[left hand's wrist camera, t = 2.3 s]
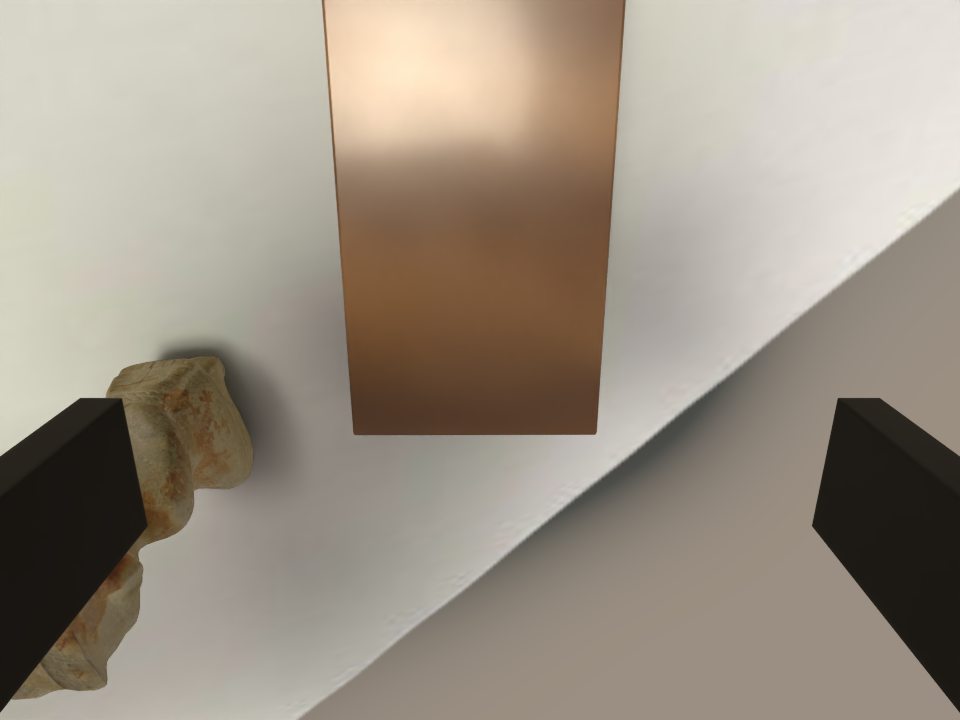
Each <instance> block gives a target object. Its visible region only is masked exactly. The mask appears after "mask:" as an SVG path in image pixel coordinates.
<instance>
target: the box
mask: <svg viewBox="0 0 960 720" xmlns="http://www.w3.org/2000/svg"><path fill="white" fill-rule="evenodd" d="M625 3H626V0H322V8H323V22H324V35H325V49H326V63H327V76H328V90H329V104H330V118H331V131H332V145H333V159H334V173H335V186H336V200H337V214H338V228H339V241H340V255H341V269H342V283H343V296H344V310H345V324H346V338H347V351H348V365H349V379H350V392H351V406H352V420H353V433H354V435H595V434H596V432H597V419H598V404H599V389H600V374H601V359H602V344H603V330H604V315H605V300H606V285H607V270H608V255H609V240H610V226H611V211H612V196H613V181H614V166H615V151H616V137H617V122H618V107H619V92H620V77H621V62H622V48H623V33H624V18H625Z"/></svg>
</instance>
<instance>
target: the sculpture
mask: <svg viewBox="0 0 960 720" xmlns="http://www.w3.org/2000/svg"><path fill="white" fill-rule="evenodd" d="M225 374H226V371H225V368H224V366H223V364H222V362H221V361H220V360H219V359H218V358H216V357H212V356H201V357H192V358H190V359H171V360H161V361H152V362H146V363H141V364H136V365H133V366H129V367H127V368H124V369H123V370H122V371H121V372H120V374H119V375H118V376H117V377H116V378H114V379H113V381H112V383H111V385H110V387H109V389H108V391H107V393H106V398H122V400H123V405H124V410H125V415H126V420H127V425H128V430H129V435H130V440H131V445H132V450H133V455H134V460H135V464H136V469H137V474H138V479H139V484H140V489H141V494H142V499H143V504H144V509H145V514H146V519H147V524H148V527H147V528H146V529H145V530H144V532H143V533H142V534H141V535H140V537H139V538H138V539H137V540H136V542H135V543H134V544H133V546H132V547H131V548H130V549H129V551H128V552H127V553H126V554H125V556H124V557H123V558H122V559H121V561H120V562H119V563H118V564H117V566H116V567H115V568H114V570H113V571H112V572H111V573H110V575H109V576H108V577H107V578H106V580H105V581H104V582H103V583H102V585H101V586H100V587H99V588H98V590H97V591H96V592H95V594H94V595H93V596H92V597H91V599H90V600H89V601H88V602H87V604H86V605H85V606H84V607H83V609H82V610H81V611H80V612H79V614H78V615H77V616H76V618H75V619H74V620H73V621H72V623H71V624H70V625H69V626H68V628H67V629H66V630H65V631H64V633H63V634H62V635H61V636H60V638H59V639H58V640H57V641H56V643H55V644H54V645H53V647H52V648H51V649H50V650H49V652H48V653H47V654H46V655H45V657H44V658H43V659H42V660H41V662H40V663H39V664H38V665H37V667H36V668H35V669H34V671H33V672H32V673H31V674H30V676H29V677H28V678H27V679H26V681H25V682H24V683H23V684H22V686H21V687H20V688H19V689H18V691H17V692H16V693H15V695H14V696H13V697H12V698H11V699H13V700H16V699H27V698H38V697H41V696H43V695H45V694H48V693H50V692H53V691H56V690H61V689H69V690H76V691H89V690H97V689H100V688H102V687H105V686H106V684H107V669H106V665H107V660H108V659H109V657H110V656H111V655H112V654H113V653H114V651H115V650H116V649H117V647H118V646H119V644H120V642H121V641H122V639H123V637H124V636H125V634H126V633H127V632H128V631H129V630H130V629H131V628H132V626H133V625H134V624H135V622H136V621H137V618H138V614H139V609H140V587H141V584H142V574H143V566H142V564H141V563H140V562H139V557H138V552H139V550H140V549H141V548H142V547H144V546H145V545H147V544H150V543H152V542H155V541H158V540H161V539H165V538H168V537H170V536H172V535H174V534H176V533H177V532H179V531H180V530H181V529H182V528H183V527H184V526H185V525H186V524H187V522H188V520H189V519H190V517H191V515H192V511H193V507H194V490H197V489H199V488H211V489H230V488H233V487H236V486H238V485H240V484H241V483H242V482H243V481H244V480H245V479H246V478H247V477H248V476H249V474H250V473H251V470H252V466H253V447H252V443H251V439H250V436H249V434H248V431H247V428H246V426H245V424H244V422H243V420H242V418H241V415H240V413H239V411H238V409H237V408H236V406H235V404H234V402H233V401H232V399H231V397H230V395H229V393H228V391H227V388H226V385H225V381H224V377H225Z"/></svg>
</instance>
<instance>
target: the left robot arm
mask: <svg viewBox="0 0 960 720" xmlns="http://www.w3.org/2000/svg"><path fill="white" fill-rule="evenodd" d="M147 527H148V524H147V519H146V514H145V509H144V504H143V499H142V494H141V489H140V484H139V479H138V474H137V469H136V464H135V460H134V455H133V450H132V445H131V440H130V435H129V430H128V425H127V420H126V415H125V410H124V405H123V400H122V398H80V399H78V400H77V401H76V402H74V403H73V404H72V405H70V406H69V407H67V408H66V409H65V410H63V411H62V412H61V413H59V414H58V415H56V416H55V417H54V418H52V419H51V420H50V421H48V422H47V423H45V424H44V425H43V426H41V427H40V428H39V429H37V430H36V431H35V432H33V433H32V434H30V435H29V436H28V437H26V438H25V439H24V440H22V441H21V442H19V443H18V444H17V445H15V446H14V447H13V448H11V449H10V450H8V451H7V452H6V453H4V454H3V455H2V456H0V712H1V711H2V710H3V708H4V707H5V706H6V705H7V703H8V702H9V701H10V700H11V698H12V697H13V696H14V695H15V693H16V692H17V691H18V689H19V688H20V687H21V686H22V684H23V683H24V682H25V681H26V679H27V678H28V677H29V676H30V674H31V673H32V672H33V671H34V669H35V668H36V667H37V665H38V664H39V663H40V662H41V660H42V659H43V658H44V657H45V655H46V654H47V653H48V652H49V650H50V649H51V648H52V647H53V645H54V644H55V643H56V641H57V640H58V639H59V638H60V636H61V635H62V634H63V633H64V631H65V630H66V629H67V628H68V626H69V625H70V624H71V623H72V621H73V620H74V619H75V618H76V616H77V615H78V614H79V612H80V611H81V610H82V609H83V607H84V606H85V605H86V604H87V602H88V601H89V600H90V599H91V597H92V596H93V595H94V594H95V592H96V591H97V590H98V588H99V587H100V586H101V585H102V583H103V582H104V581H105V580H106V578H107V577H108V576H109V575H110V573H111V572H112V571H113V570H114V568H115V567H116V566H117V564H118V563H119V562H120V561H121V559H122V558H123V557H124V556H125V554H126V553H127V552H128V551H129V549H130V548H131V547H132V546H133V544H134V543H135V542H136V540H137V539H138V538H139V537H140V535H141V534H142V533H143V532H144V530H145V529H146V528H147ZM812 527H813V528H814V529H815V530H816V532H817V533H818V534H819V535H820V537H821V538H822V539H823V540H824V542H825V543H826V544H827V546H828V547H829V548H830V549H831V551H832V552H833V553H834V554H835V556H836V557H837V558H838V559H839V561H840V562H841V563H842V564H843V566H844V567H845V568H846V570H847V571H848V572H849V573H850V575H851V576H852V577H853V578H854V580H855V581H856V582H857V583H858V585H859V586H860V587H861V588H862V590H863V591H864V592H865V593H866V595H867V596H868V597H869V599H870V600H871V601H872V602H873V604H874V605H875V606H876V607H877V609H878V610H879V611H880V612H881V614H882V615H883V616H884V617H885V619H886V620H887V621H888V623H889V624H890V625H891V626H892V628H893V629H894V630H895V631H896V633H897V634H898V635H899V636H900V638H901V639H902V640H903V641H904V643H905V644H906V645H907V647H908V648H909V649H910V650H911V652H912V653H913V654H914V655H915V657H916V658H917V659H918V660H919V662H920V663H921V664H922V665H923V667H924V668H925V669H926V671H927V672H928V673H929V674H930V676H931V677H932V678H933V679H934V681H935V682H936V683H937V684H938V686H939V687H940V688H941V689H942V691H943V692H944V693H945V695H946V696H947V697H948V698H949V700H950V701H951V702H952V703H953V705H954V706H955V707H956V708H957V710H958V711H959V712H960V456H958V455H957V454H956V453H954V452H953V451H952V450H950V449H949V448H947V447H946V446H945V445H943V444H942V443H941V442H939V441H938V440H936V439H935V438H934V437H932V436H931V435H930V434H928V433H927V432H925V431H924V430H923V429H921V428H920V427H919V426H917V425H916V424H914V423H913V422H912V421H910V420H909V419H908V418H906V417H905V416H904V415H902V414H901V413H899V412H898V411H897V410H895V409H894V408H893V407H891V406H890V405H888V404H887V403H886V402H884V401H883V400H882V399H880V398H838V400H837V405H836V410H835V415H834V420H833V425H832V430H831V435H830V440H829V445H828V450H827V455H826V460H825V465H824V470H823V474H822V479H821V485H820V489H819V494H818V499H817V504H816V509H815V514H814V519H813V524H812Z"/></svg>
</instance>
